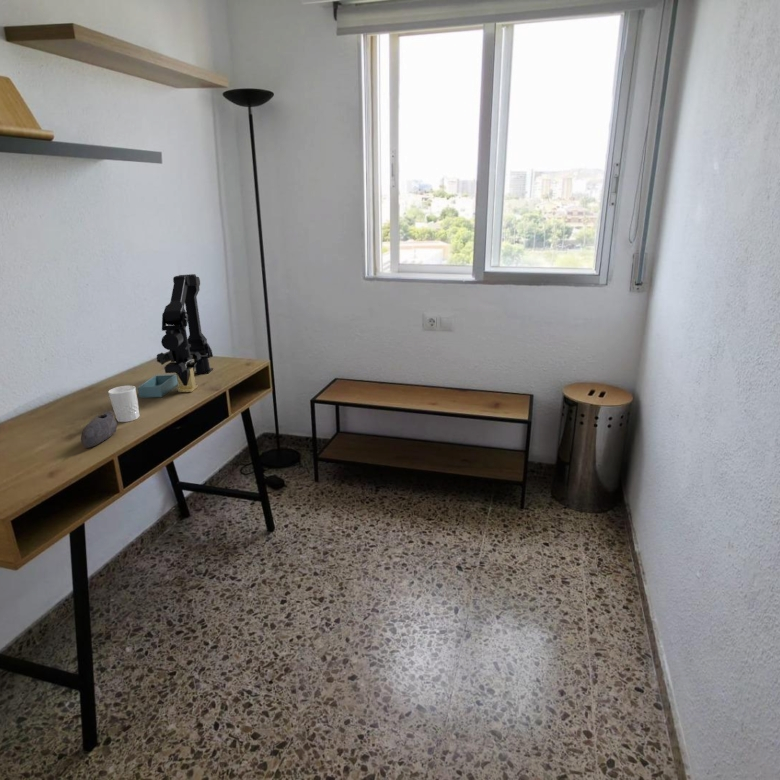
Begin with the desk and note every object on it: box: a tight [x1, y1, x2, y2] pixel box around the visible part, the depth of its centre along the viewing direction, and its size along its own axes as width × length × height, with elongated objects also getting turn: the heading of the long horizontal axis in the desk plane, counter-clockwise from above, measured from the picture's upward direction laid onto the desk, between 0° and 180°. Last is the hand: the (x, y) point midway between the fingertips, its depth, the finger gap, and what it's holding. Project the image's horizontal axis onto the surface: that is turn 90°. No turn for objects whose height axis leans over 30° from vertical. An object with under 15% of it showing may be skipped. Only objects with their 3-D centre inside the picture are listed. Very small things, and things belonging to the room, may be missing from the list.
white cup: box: [107, 385, 140, 423], centre depth 169 cm, size 8×8×10 cm
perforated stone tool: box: [80, 410, 118, 448], centre depth 154 cm, size 15×5×7 cm, turn 174°
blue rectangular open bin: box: [137, 374, 179, 399], centre depth 196 cm, size 14×8×4 cm, turn 178°
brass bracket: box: [176, 367, 199, 393], centre depth 195 cm, size 6×5×8 cm
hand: (187, 384), depth 195 cm, fingers closed on brass bracket, 3 cm apart
